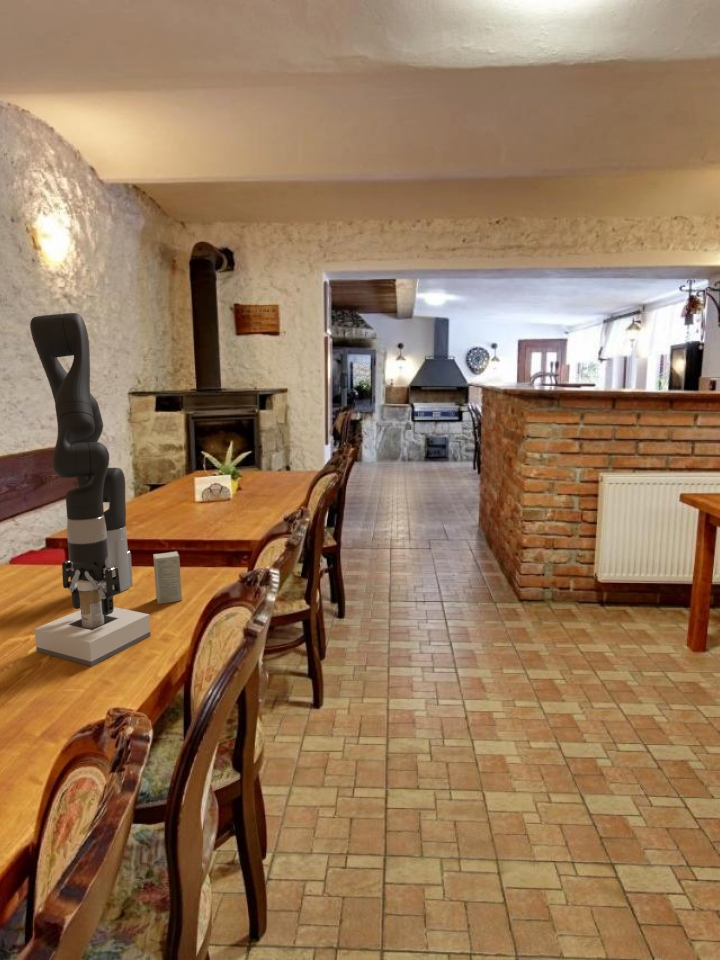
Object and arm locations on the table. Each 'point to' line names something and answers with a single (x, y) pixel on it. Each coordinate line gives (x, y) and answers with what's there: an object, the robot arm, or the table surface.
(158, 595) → the skincare box
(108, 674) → the table surface
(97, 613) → the sprinkles bottle
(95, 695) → the table surface
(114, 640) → the socket block
